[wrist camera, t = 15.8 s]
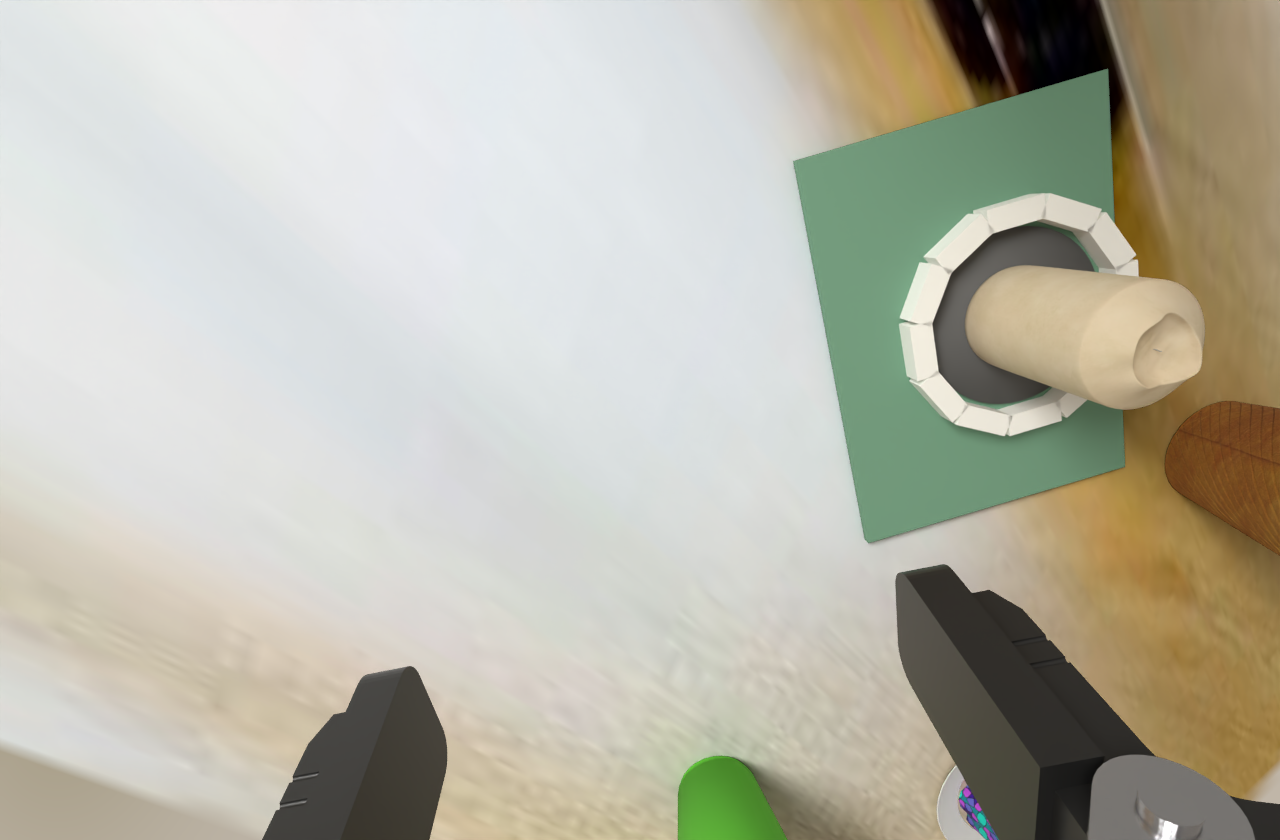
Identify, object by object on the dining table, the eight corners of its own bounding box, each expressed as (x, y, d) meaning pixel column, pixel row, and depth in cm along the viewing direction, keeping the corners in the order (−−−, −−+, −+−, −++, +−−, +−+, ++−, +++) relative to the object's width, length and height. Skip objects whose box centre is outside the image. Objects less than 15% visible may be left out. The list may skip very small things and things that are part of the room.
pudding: (1051, 856, 49) (1104, 927, 44) (907, 842, 48) (946, 915, 43) (1118, 728, 46) (1184, 789, 41) (967, 707, 44) (1016, 769, 39)
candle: (1080, 300, 35) (1266, 331, 26) (1014, 384, 36) (1168, 443, 27) (1009, 243, 34) (1176, 254, 25) (942, 332, 35) (1077, 375, 26)
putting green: (793, 161, 33) (804, 158, 31) (1104, 69, 33) (1131, 62, 31) (864, 539, 39) (876, 552, 38) (1121, 462, 39) (1145, 473, 38)
